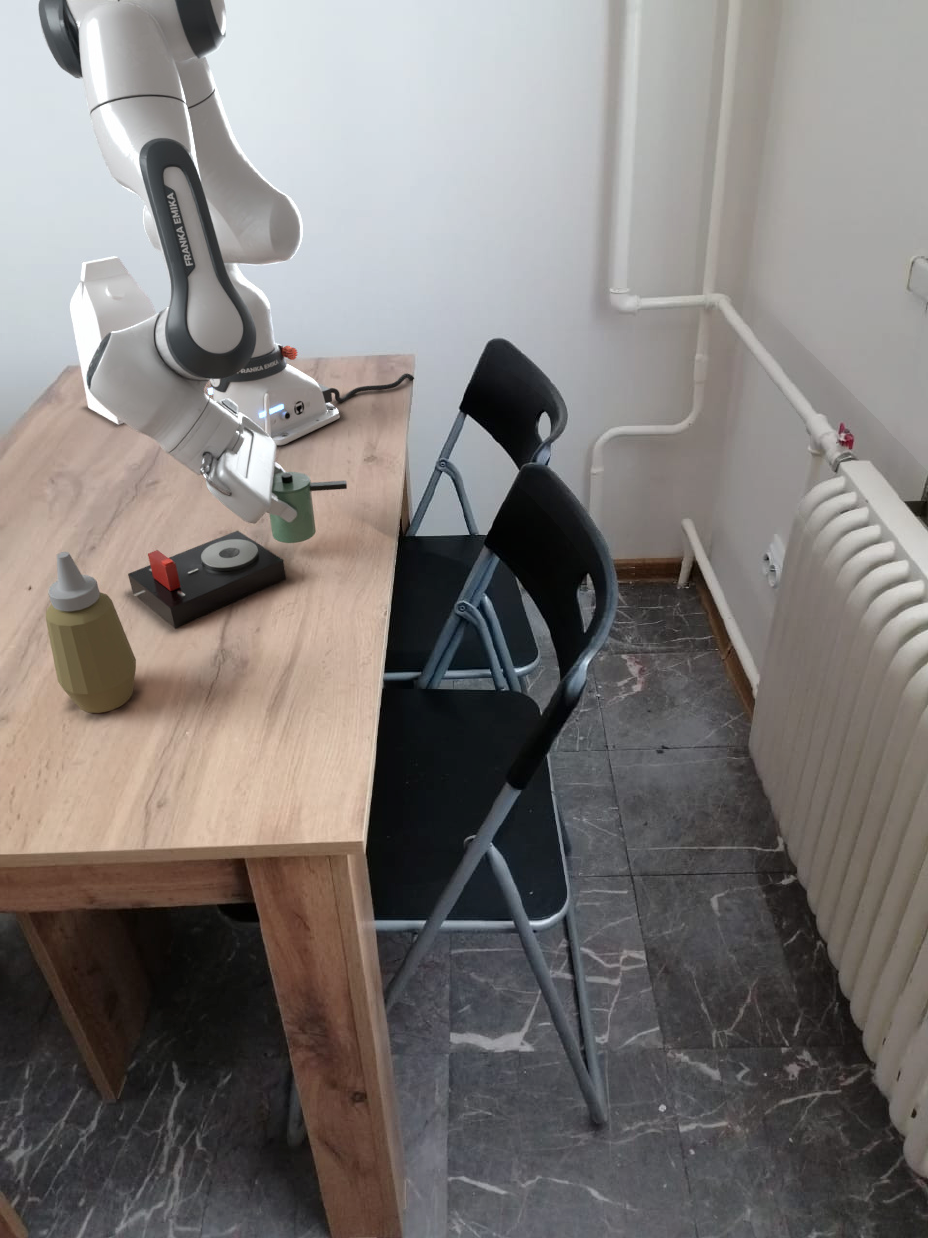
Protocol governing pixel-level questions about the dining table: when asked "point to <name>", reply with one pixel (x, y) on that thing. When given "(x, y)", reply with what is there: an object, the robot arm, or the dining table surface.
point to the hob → (205, 583)
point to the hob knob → (164, 570)
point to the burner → (229, 555)
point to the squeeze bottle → (88, 641)
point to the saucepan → (297, 505)
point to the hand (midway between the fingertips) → (295, 503)
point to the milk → (105, 312)
